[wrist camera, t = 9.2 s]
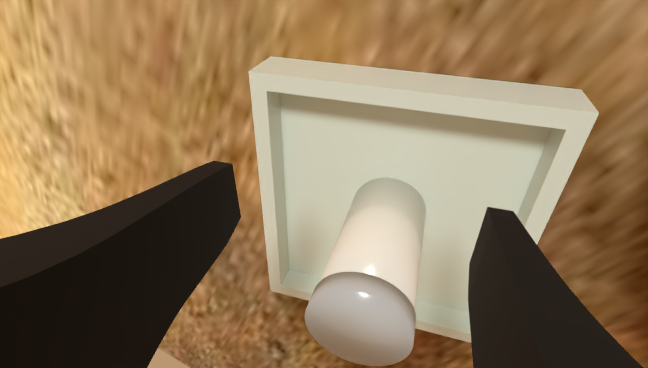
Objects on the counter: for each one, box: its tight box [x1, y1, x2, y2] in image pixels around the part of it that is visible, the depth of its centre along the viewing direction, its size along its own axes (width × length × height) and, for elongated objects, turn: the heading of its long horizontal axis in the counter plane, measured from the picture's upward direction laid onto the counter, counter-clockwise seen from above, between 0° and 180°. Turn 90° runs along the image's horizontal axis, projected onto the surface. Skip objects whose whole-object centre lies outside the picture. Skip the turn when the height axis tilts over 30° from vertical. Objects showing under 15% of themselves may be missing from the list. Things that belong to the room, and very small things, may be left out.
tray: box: [249, 56, 599, 343], centre depth 20 cm, size 14×15×2 cm
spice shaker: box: [305, 178, 426, 366], centre depth 17 cm, size 4×4×8 cm
